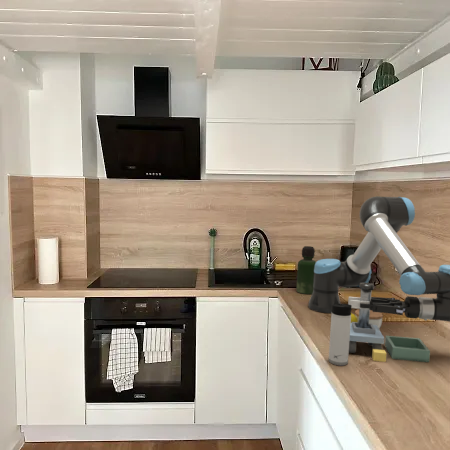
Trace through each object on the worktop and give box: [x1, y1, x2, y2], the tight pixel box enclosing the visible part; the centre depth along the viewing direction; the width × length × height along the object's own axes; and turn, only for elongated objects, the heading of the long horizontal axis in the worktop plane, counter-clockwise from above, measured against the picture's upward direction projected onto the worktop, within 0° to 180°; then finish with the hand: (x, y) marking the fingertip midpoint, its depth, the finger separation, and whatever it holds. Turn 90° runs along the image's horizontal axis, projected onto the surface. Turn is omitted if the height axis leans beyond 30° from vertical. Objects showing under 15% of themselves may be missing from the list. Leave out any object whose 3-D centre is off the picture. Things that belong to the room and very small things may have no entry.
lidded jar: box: [354, 308, 384, 329], centre depth 173 cm, size 11×11×9 cm
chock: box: [371, 348, 388, 363], centre depth 145 cm, size 3×4×3 cm
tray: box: [384, 335, 431, 363], centre depth 151 cm, size 12×12×4 cm
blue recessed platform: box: [349, 322, 385, 354], centre depth 154 cm, size 14×12×8 cm
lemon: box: [351, 312, 357, 323], centre depth 171 cm, size 6×6×8 cm
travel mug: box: [328, 303, 352, 367], centre depth 141 cm, size 6×7×20 cm
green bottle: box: [295, 245, 317, 295], centre depth 232 cm, size 10×10×25 cm
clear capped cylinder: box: [358, 282, 375, 328], centre depth 153 cm, size 5×5×16 cm
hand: (349, 302), depth 154 cm, fingers closed on clear capped cylinder, 3 cm apart
